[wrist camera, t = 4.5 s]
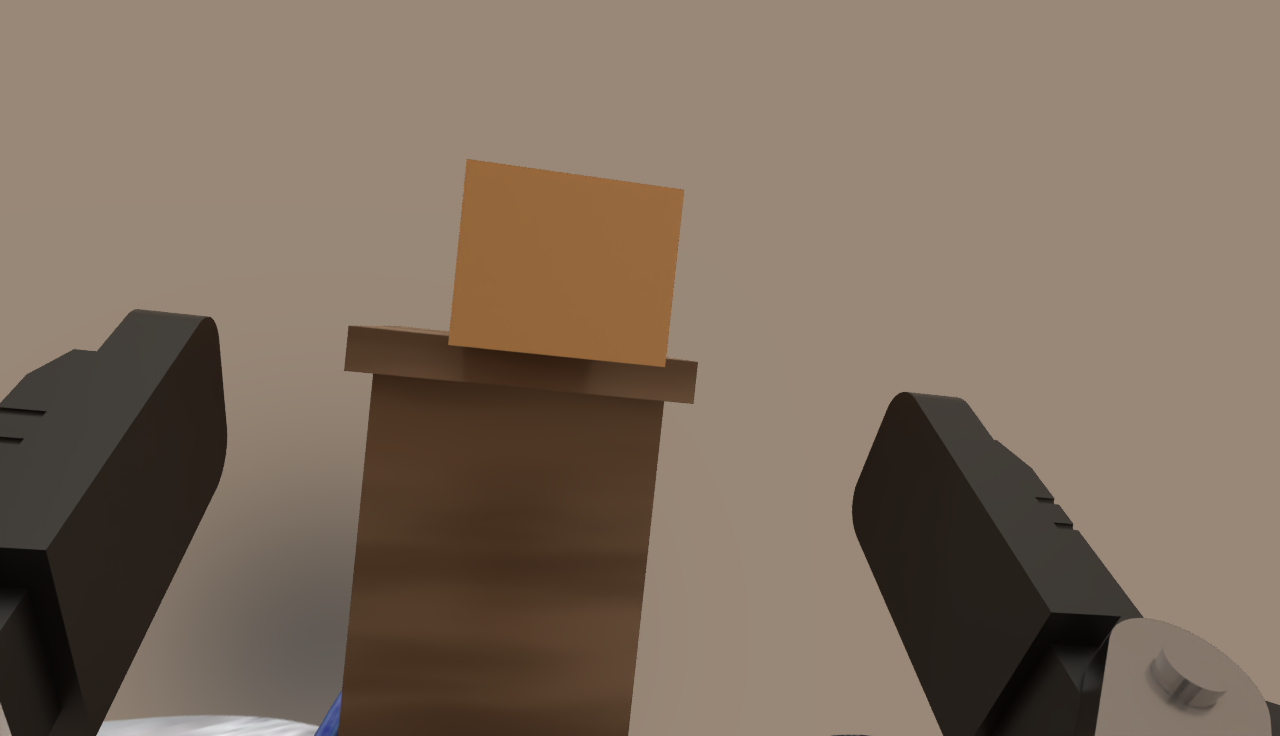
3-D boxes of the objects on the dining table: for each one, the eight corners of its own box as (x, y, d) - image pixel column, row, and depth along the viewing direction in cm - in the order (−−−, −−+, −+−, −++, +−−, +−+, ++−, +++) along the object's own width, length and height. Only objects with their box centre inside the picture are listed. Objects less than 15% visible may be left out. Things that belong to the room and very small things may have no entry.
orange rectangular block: (665, 367, 12) (684, 189, 12) (448, 344, 12) (467, 159, 11) (550, 341, 34) (556, 278, 34) (472, 333, 33) (479, 269, 33)
